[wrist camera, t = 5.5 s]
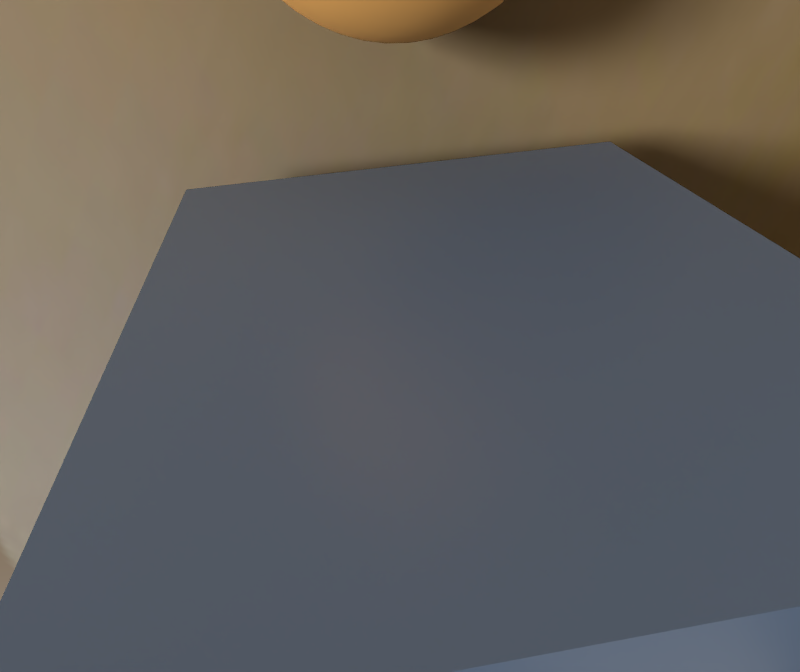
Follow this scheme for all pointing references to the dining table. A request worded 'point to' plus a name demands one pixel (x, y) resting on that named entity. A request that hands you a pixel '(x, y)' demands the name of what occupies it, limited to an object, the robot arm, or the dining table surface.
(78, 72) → the dining table surface
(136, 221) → the dining table surface
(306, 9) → the ball
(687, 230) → the matte slate cube
